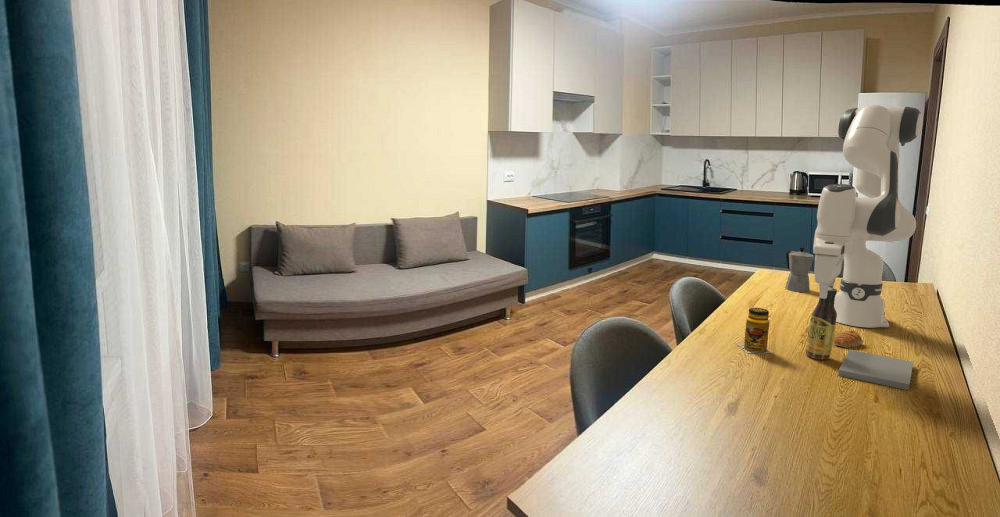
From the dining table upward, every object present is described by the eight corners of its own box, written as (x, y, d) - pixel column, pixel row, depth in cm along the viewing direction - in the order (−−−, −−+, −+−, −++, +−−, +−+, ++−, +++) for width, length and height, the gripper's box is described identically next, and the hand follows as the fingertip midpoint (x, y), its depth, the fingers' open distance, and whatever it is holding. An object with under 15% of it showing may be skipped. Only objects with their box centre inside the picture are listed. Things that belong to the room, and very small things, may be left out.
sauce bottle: (800, 354, 167) (808, 286, 163) (815, 352, 169) (824, 284, 166) (820, 362, 161) (829, 291, 157) (836, 359, 163) (845, 289, 160)
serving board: (848, 354, 168) (849, 349, 167) (912, 367, 159) (913, 361, 159) (838, 375, 152) (838, 369, 152) (908, 390, 143) (909, 384, 143)
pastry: (851, 351, 171) (853, 338, 171) (827, 345, 176) (828, 333, 176) (863, 344, 178) (865, 332, 177) (839, 339, 183) (840, 327, 182)
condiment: (748, 353, 167) (752, 312, 165) (735, 343, 175) (739, 304, 173) (773, 353, 167) (778, 313, 165) (759, 344, 176) (763, 305, 173)
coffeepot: (818, 293, 241) (823, 249, 238) (798, 294, 239) (803, 250, 236) (792, 284, 256) (797, 243, 253) (773, 285, 254) (777, 244, 251)
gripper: (825, 240, 169) (819, 287, 172) (812, 247, 153) (806, 299, 155) (850, 242, 166) (844, 290, 168) (840, 250, 149) (833, 303, 152)
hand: (826, 295), depth 162 cm, fingers open, 8 cm apart
